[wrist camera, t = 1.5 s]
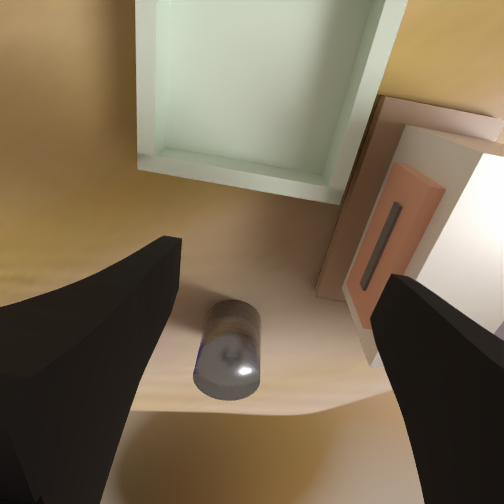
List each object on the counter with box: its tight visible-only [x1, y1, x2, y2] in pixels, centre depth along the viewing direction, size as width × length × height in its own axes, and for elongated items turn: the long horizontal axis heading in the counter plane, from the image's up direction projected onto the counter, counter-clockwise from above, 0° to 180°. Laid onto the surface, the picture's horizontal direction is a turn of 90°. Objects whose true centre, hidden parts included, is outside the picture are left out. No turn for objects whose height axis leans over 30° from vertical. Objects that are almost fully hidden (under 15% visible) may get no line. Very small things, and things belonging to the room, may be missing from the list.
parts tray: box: [135, 0, 408, 205], centre depth 14 cm, size 10×10×2 cm
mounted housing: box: [315, 95, 504, 369], centre depth 15 cm, size 6×12×7 cm, turn 170°
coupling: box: [193, 300, 261, 400], centre depth 21 cm, size 4×4×5 cm
